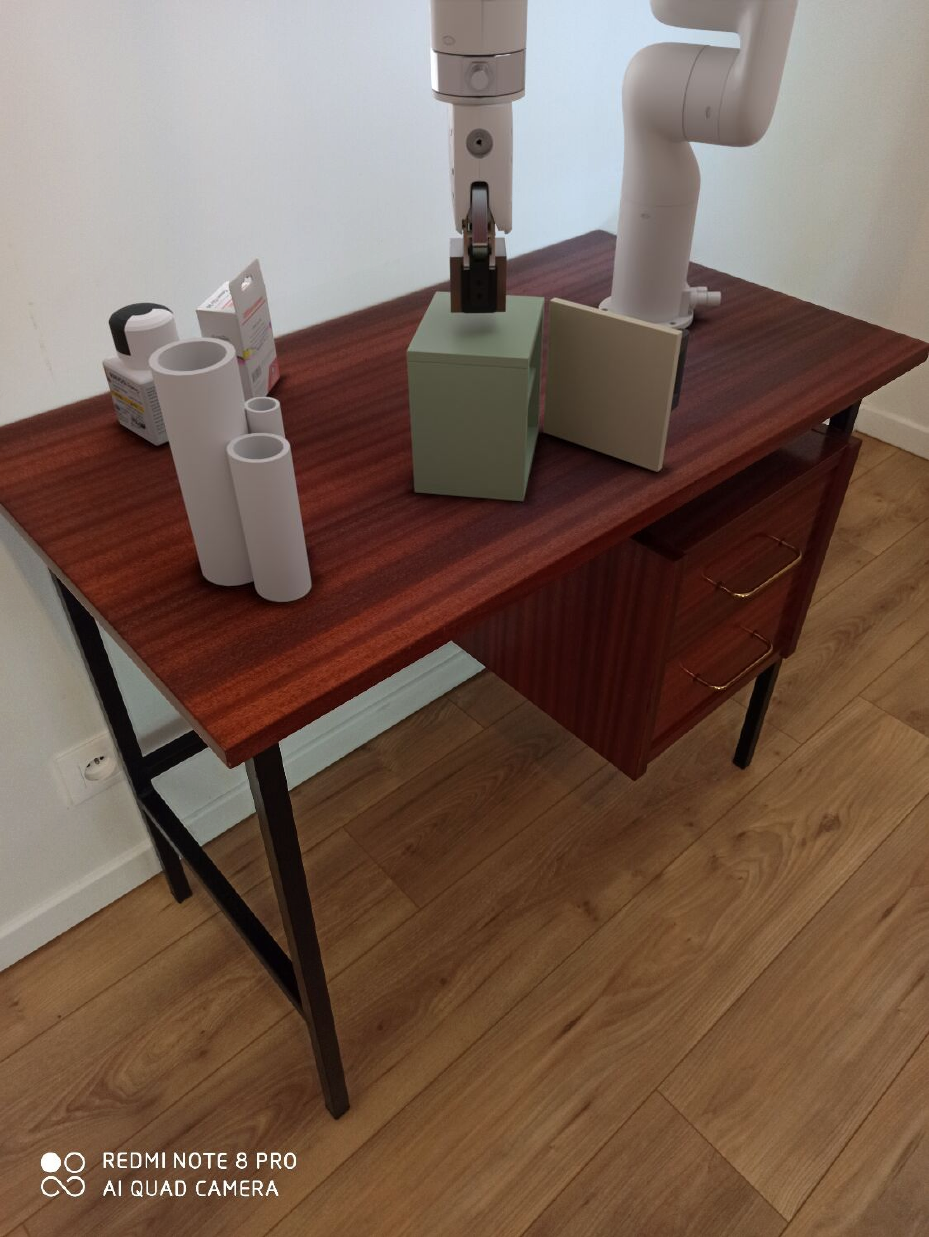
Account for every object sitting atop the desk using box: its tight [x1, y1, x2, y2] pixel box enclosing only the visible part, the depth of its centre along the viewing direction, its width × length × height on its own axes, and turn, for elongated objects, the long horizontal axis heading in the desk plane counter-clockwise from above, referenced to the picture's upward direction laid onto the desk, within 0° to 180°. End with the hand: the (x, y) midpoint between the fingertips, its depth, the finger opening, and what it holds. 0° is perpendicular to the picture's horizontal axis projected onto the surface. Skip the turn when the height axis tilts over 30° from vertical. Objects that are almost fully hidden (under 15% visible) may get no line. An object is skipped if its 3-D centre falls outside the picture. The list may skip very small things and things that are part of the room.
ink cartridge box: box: [195, 257, 281, 402], centre depth 103 cm, size 9×5×15 cm, turn 168°
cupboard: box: [406, 291, 546, 502], centre depth 91 cm, size 11×14×15 cm
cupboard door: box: [542, 297, 691, 473], centre depth 94 cm, size 7×14×15 cm, turn 53°
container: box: [101, 302, 180, 446], centre depth 98 cm, size 8×8×13 cm
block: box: [449, 236, 508, 313], centre depth 83 cm, size 5×5×5 cm
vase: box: [149, 337, 312, 603], centre depth 76 cm, size 11×7×20 cm, turn 67°
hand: (478, 297), depth 84 cm, fingers closed on block, 5 cm apart
